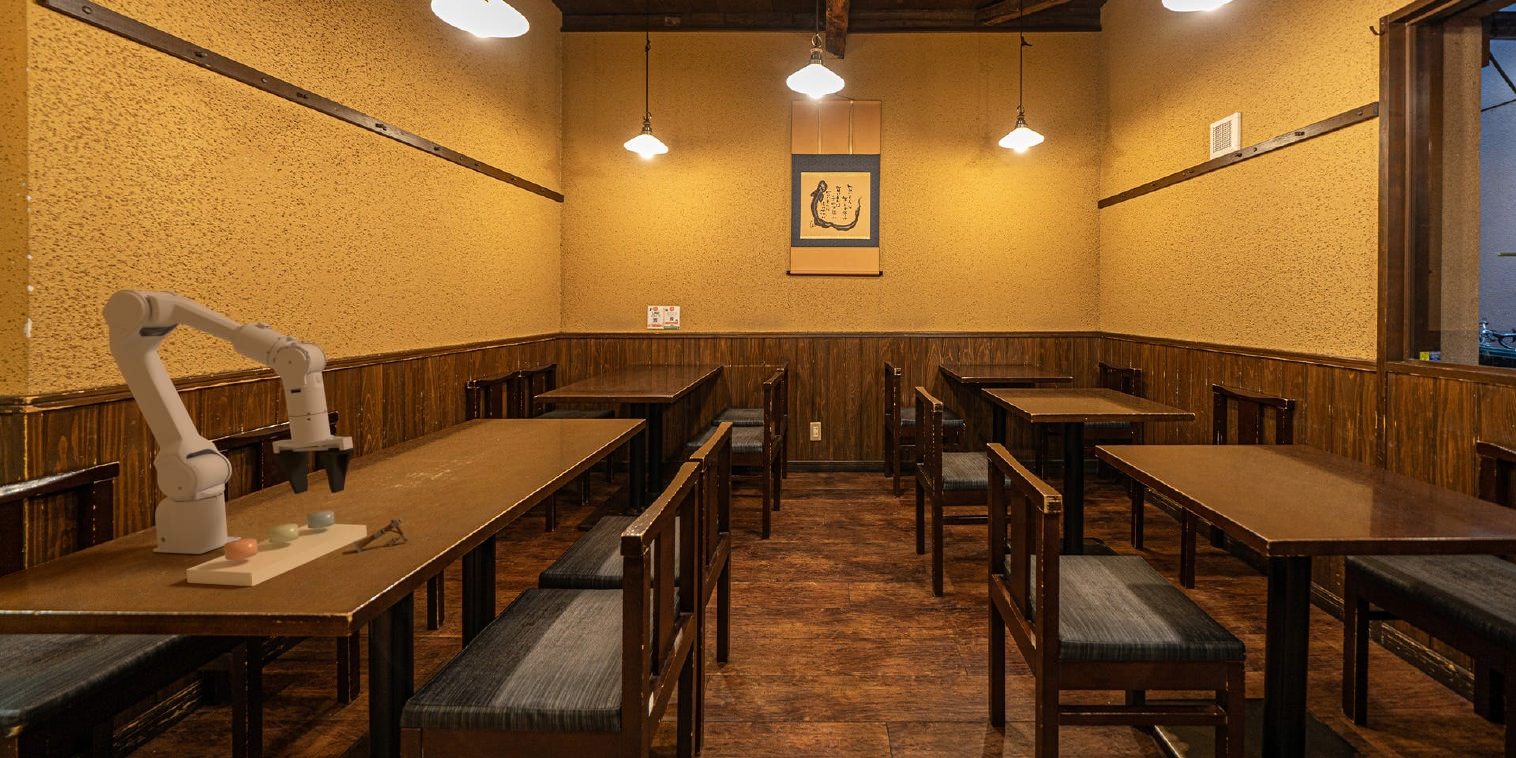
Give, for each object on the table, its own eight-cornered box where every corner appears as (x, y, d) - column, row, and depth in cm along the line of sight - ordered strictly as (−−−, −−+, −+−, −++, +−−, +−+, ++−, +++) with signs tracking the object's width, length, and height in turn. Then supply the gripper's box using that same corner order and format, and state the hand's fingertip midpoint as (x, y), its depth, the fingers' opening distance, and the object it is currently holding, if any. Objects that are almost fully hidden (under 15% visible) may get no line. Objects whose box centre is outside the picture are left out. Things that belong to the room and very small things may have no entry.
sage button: (263, 542, 117) (262, 530, 116) (283, 535, 120) (282, 523, 120) (285, 543, 116) (284, 531, 116) (304, 535, 120) (303, 524, 120)
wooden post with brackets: (413, 538, 125) (400, 516, 124) (367, 565, 121) (353, 543, 120) (412, 535, 127) (398, 514, 125) (365, 562, 123) (351, 540, 121)
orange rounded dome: (218, 559, 109) (217, 546, 108) (241, 550, 113) (240, 538, 112) (241, 560, 108) (240, 547, 108) (264, 551, 112) (263, 539, 112)
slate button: (302, 528, 124) (301, 516, 124) (319, 521, 128) (319, 510, 128) (322, 528, 124) (322, 517, 124) (340, 522, 128) (339, 510, 127)
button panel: (187, 582, 108) (186, 569, 107) (312, 533, 131) (311, 522, 131) (252, 586, 106) (251, 572, 106) (366, 536, 129) (366, 525, 129)
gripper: (361, 408, 126) (372, 484, 127) (292, 412, 130) (304, 487, 131) (329, 414, 119) (340, 495, 121) (257, 419, 123) (269, 497, 124)
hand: (319, 492), depth 125 cm, fingers open, 7 cm apart
